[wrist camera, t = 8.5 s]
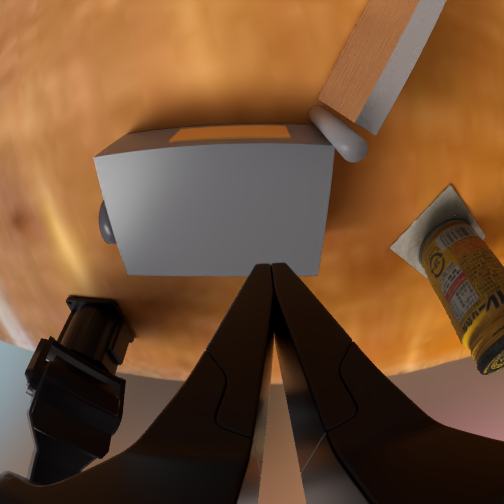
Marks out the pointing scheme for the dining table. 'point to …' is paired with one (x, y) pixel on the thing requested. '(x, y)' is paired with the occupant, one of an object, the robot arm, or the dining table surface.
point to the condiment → (460, 275)
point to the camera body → (222, 195)
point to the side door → (379, 59)
